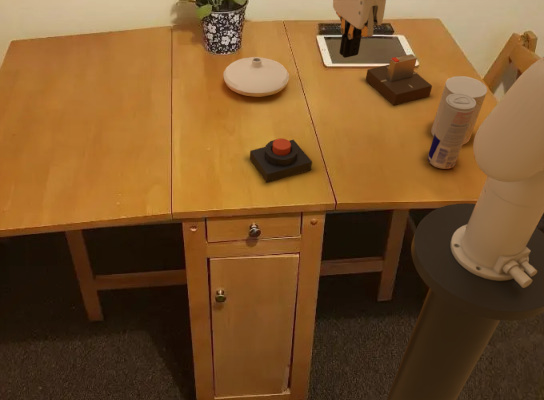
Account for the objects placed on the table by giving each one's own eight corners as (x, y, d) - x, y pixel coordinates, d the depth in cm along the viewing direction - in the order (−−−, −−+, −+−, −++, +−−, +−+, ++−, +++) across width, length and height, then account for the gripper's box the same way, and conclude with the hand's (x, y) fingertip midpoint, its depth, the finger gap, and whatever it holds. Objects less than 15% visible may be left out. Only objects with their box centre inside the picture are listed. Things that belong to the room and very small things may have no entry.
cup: (465, 149, 123) (482, 101, 114) (426, 138, 126) (441, 90, 117) (473, 129, 128) (490, 82, 120) (436, 119, 131) (451, 72, 123)
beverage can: (460, 162, 120) (482, 100, 109) (446, 174, 117) (467, 112, 107) (436, 149, 123) (455, 88, 112) (421, 161, 120) (440, 100, 109)
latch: (407, 72, 140) (412, 52, 136) (412, 76, 138) (417, 56, 135) (386, 77, 138) (390, 57, 134) (391, 81, 137) (395, 61, 133)
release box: (292, 147, 123) (294, 132, 120) (311, 170, 118) (313, 154, 115) (249, 159, 120) (250, 143, 118) (266, 182, 115) (267, 167, 112)
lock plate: (429, 96, 138) (432, 84, 135) (393, 105, 135) (396, 94, 132) (399, 71, 146) (402, 60, 143) (365, 80, 143) (367, 68, 141)
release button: (285, 143, 118) (285, 136, 117) (293, 153, 116) (294, 146, 115) (269, 147, 117) (269, 140, 116) (277, 158, 115) (277, 151, 114)
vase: (280, 67, 147) (282, 41, 142) (294, 101, 136) (297, 75, 131) (219, 71, 146) (219, 45, 141) (228, 106, 134) (228, 80, 129)
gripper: (410, -32, 93) (388, 69, 106) (359, -62, 103) (344, 33, 116) (370, -25, 91) (352, 77, 104) (322, -56, 101) (311, 40, 114)
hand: (348, 54), depth 110 cm, fingers closed
